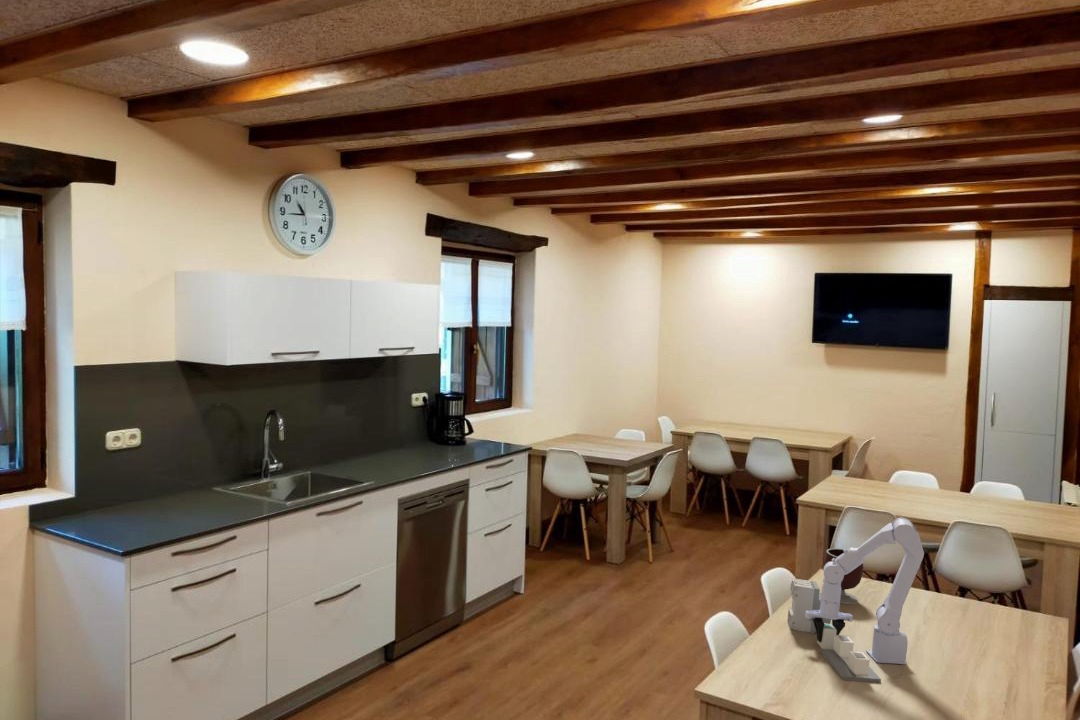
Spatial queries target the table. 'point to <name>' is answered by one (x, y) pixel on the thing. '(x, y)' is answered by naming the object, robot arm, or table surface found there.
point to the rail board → (845, 670)
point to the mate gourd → (846, 577)
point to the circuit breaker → (804, 605)
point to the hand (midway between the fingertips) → (826, 641)
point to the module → (827, 637)
